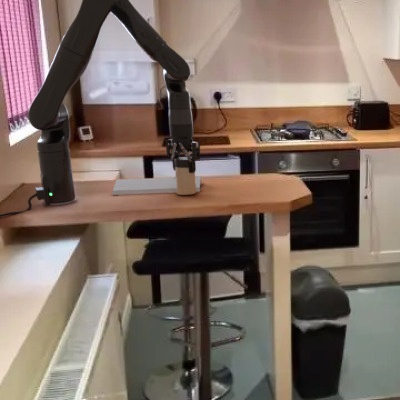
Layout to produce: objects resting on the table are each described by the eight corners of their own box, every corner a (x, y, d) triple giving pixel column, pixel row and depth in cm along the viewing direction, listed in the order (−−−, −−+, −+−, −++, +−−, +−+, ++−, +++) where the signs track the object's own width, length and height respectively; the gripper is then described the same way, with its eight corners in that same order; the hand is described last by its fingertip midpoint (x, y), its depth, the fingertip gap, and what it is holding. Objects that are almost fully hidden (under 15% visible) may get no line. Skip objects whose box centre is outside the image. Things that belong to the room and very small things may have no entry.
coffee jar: (180, 195, 197) (178, 162, 195) (174, 192, 203) (171, 159, 200) (199, 193, 200) (196, 160, 198) (192, 190, 206) (190, 158, 203)
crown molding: (112, 195, 201) (111, 185, 200) (119, 186, 213) (118, 177, 212) (199, 192, 205) (199, 181, 204) (202, 183, 217) (201, 174, 216)
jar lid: (178, 164, 203) (178, 156, 203) (197, 164, 203) (197, 156, 202) (172, 167, 197) (171, 159, 196) (192, 167, 196) (191, 160, 196)
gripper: (156, 121, 196) (161, 171, 201) (188, 124, 189) (191, 176, 193) (174, 119, 202) (177, 167, 207) (204, 121, 195) (208, 171, 199)
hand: (184, 171), depth 200 cm, fingers closed on jar lid, 6 cm apart
